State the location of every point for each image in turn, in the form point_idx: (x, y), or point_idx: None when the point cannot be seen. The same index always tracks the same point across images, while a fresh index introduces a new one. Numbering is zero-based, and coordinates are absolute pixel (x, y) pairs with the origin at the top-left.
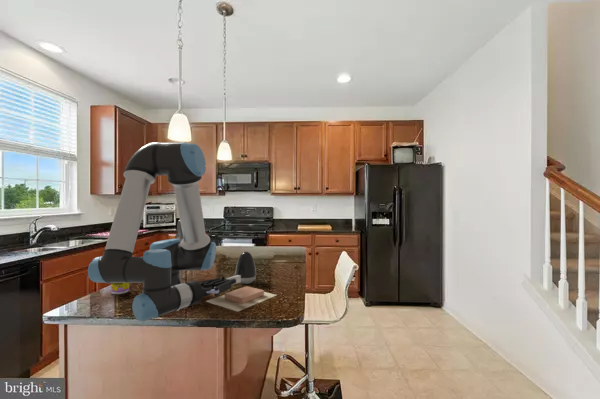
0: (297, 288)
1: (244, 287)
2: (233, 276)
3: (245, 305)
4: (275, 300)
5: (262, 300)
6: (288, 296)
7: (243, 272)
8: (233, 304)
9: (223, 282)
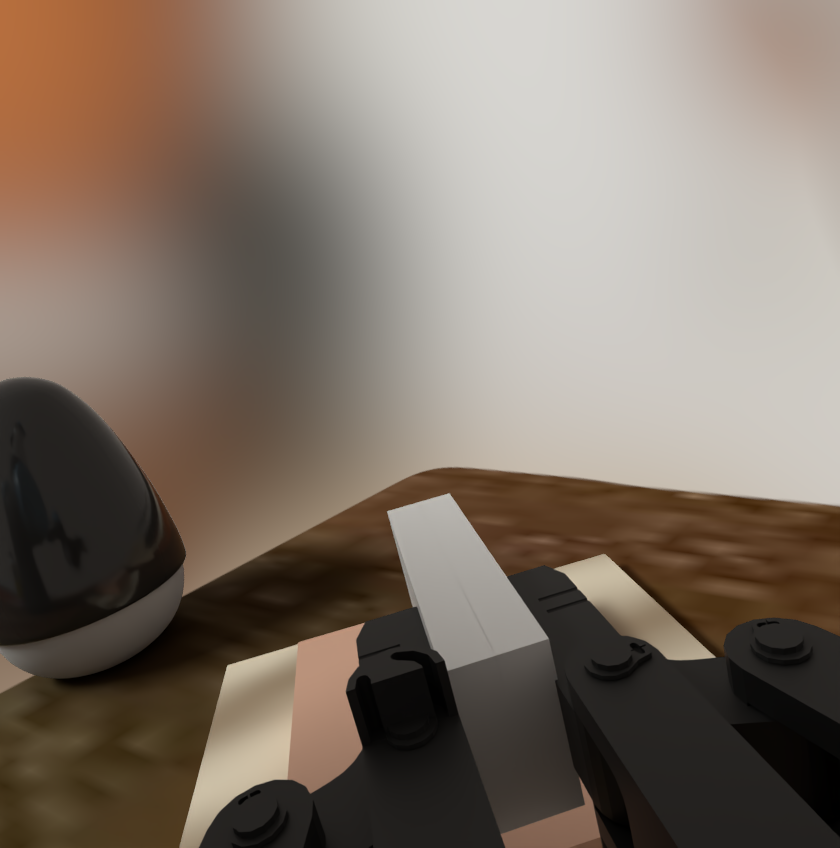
0: (521, 482)
1: (313, 664)
2: (424, 553)
3: None
4: (689, 592)
5: (694, 654)
6: (642, 526)
7: (95, 561)
8: None
9: (812, 825)
